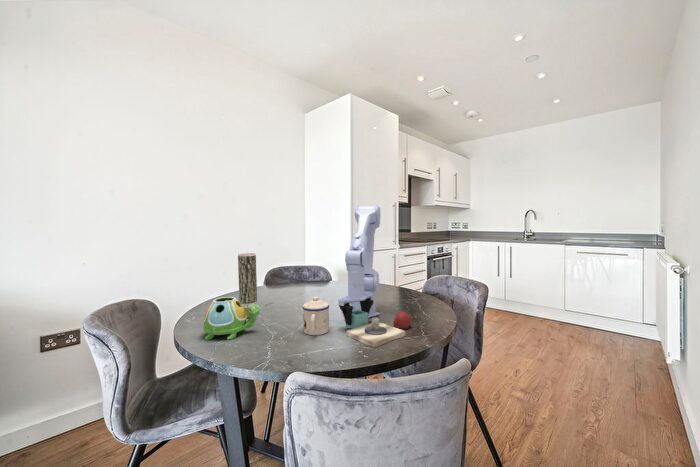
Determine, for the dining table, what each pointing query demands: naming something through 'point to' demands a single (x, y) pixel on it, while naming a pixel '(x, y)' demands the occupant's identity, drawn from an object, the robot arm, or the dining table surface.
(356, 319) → the collar
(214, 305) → the turtle holder
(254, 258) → the bark log
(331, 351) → the dining table surface
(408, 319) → the fruit
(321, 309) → the teacup with lid
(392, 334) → the post base
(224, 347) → the dining table surface
